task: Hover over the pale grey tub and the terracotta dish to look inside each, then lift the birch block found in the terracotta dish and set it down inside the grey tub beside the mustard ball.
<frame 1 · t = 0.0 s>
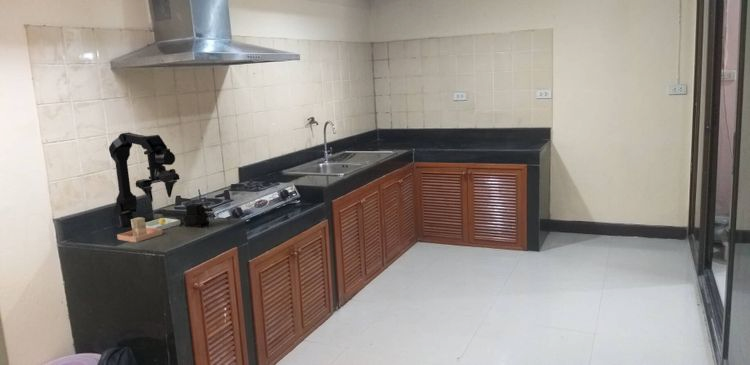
hand: (160, 199, 262), 15 cm above the countertop, tool pointing down, fingers open, 9 cm apart
grey tub: (159, 227, 274), on the countertop
terracotta dish: (140, 237, 258), on the countertop
toy: (201, 227, 269), on the countertop
birch block: (140, 236, 257), resting on terracotta dish
mustard ball: (162, 224, 277), resting on grey tub
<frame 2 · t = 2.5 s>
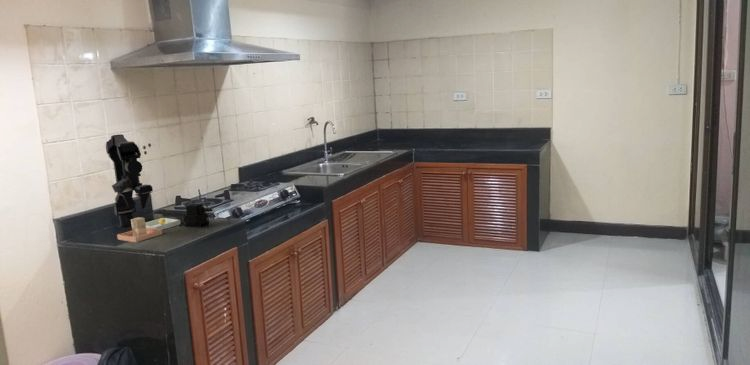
hand: (136, 208, 255), 13 cm above the countertop, tool pointing down, fingers open, 9 cm apart
nothing on the countertop moved.
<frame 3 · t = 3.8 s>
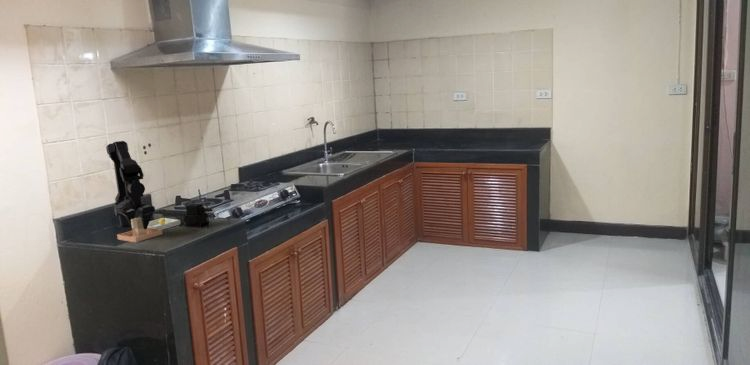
hand: (139, 228, 257), 4 cm above the countertop, tool pointing down, fingers open, 9 cm apart
nothing on the countertop moved.
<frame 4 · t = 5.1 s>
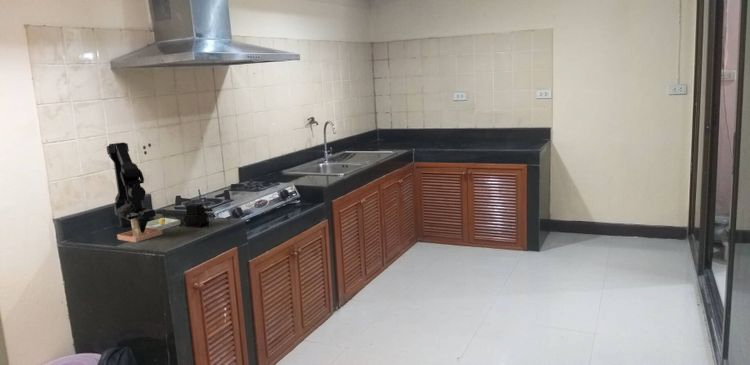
hand: (139, 232, 257), 3 cm above the countertop, tool pointing down, fingers closed on birch block, 4 cm apart
birch block: (140, 236, 257), resting on terracotta dish, touching gripper
everything else where it was.
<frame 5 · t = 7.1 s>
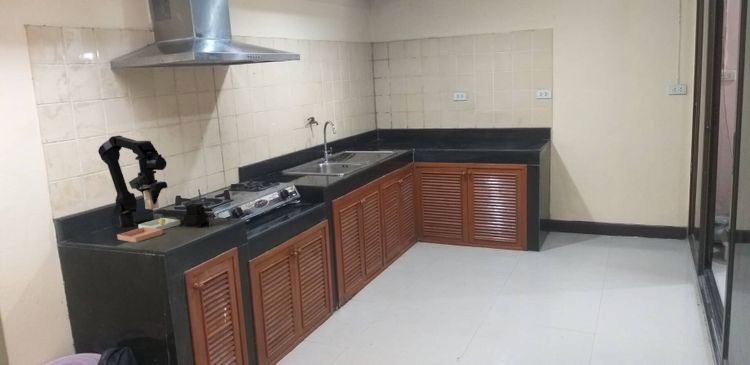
hand: (151, 203, 268), 12 cm above the countertop, tool pointing down, fingers closed on birch block, 4 cm apart
birch block: (152, 208, 269), point 10 cm above the countertop, touching gripper
everything else where it was.
when the fingers open (4 cm above the countertop, at t = 9.2 s): birch block drops 1 cm, resting on grey tub.
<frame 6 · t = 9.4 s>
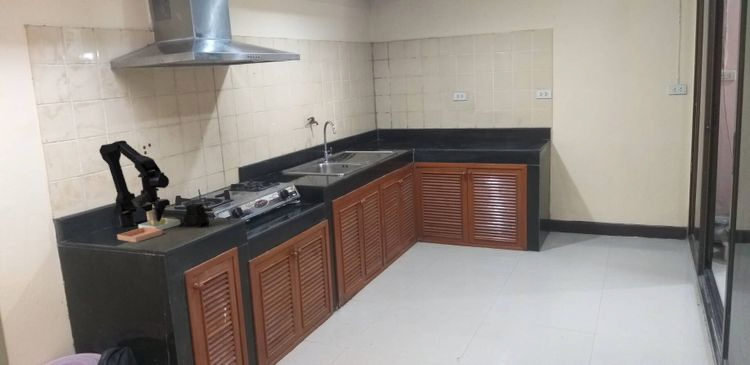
hand: (154, 220, 270), 4 cm above the countertop, tool pointing down, fingers open, 6 cm apart
birch block: (155, 228, 271), resting on grey tub
everything else where it was.
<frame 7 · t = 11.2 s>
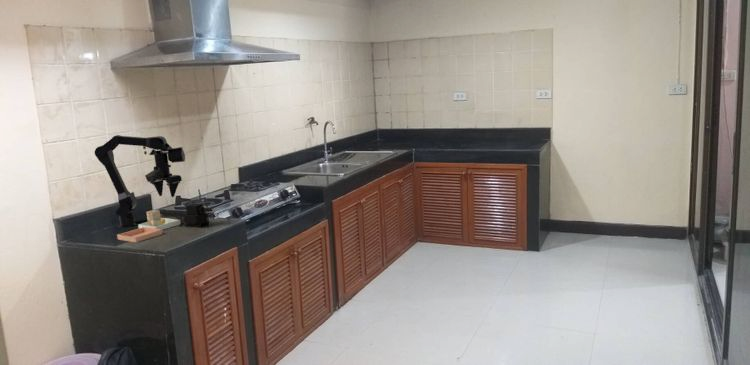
hand: (166, 196, 280), 13 cm above the countertop, tool pointing down, fingers open, 9 cm apart
nothing on the countertop moved.
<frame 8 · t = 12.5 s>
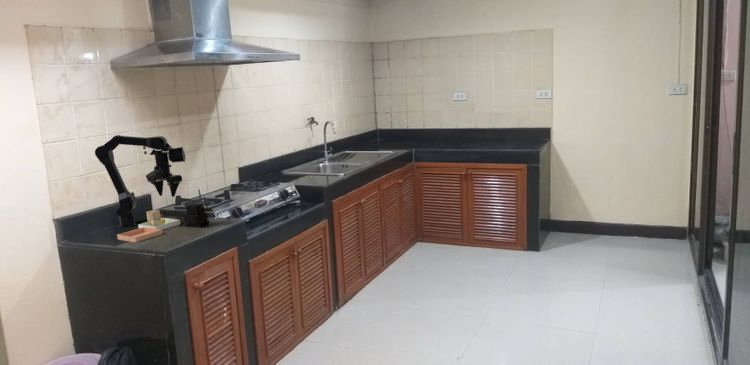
hand: (167, 196, 281), 12 cm above the countertop, tool pointing down, fingers open, 9 cm apart
nothing on the countertop moved.
at the end: birch block inside the target area on the grey tub (3.2 cm from its centre), point 0.5 cm above the grey tub's base; the gripper is holding nothing; mustard ball inside the target area on the grey tub (3.6 cm from its centre), point 0.5 cm above the grey tub's base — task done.
